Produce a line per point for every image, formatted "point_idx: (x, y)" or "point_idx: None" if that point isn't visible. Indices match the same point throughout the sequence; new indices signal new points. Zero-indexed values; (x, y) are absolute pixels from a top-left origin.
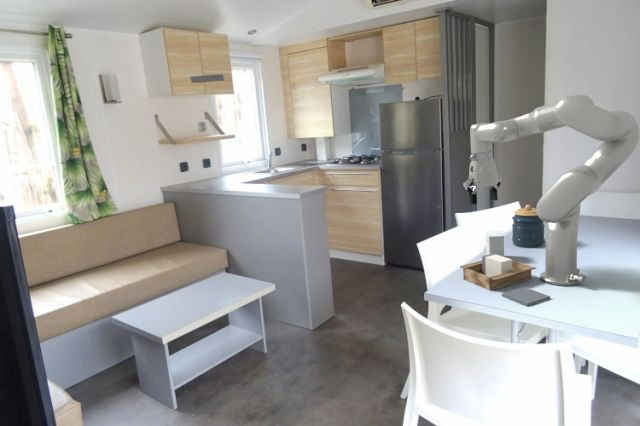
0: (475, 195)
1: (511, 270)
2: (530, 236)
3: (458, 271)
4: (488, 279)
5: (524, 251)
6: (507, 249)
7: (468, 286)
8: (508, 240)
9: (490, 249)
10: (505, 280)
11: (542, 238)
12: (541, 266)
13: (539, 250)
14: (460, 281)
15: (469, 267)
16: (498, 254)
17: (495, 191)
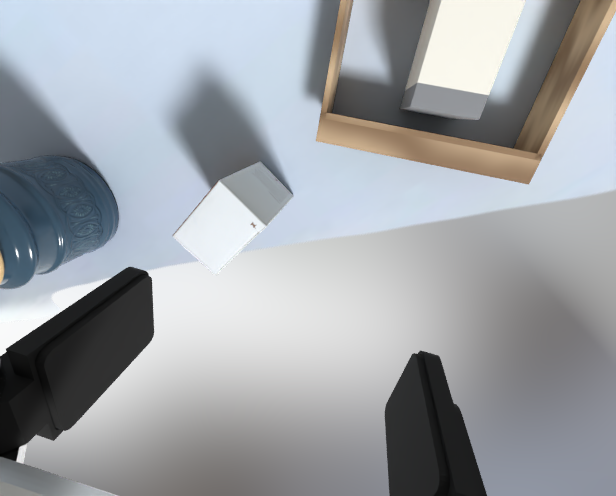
0: (467, 469)
1: None
2: (64, 182)
3: (442, 218)
4: None
5: (138, 169)
6: (162, 221)
7: (584, 92)
8: (100, 264)
9: (280, 205)
10: None
11: (32, 159)
12: (215, 19)
13: (95, 137)
14: None
15: (511, 149)
16: (266, 179)
17: (56, 346)
